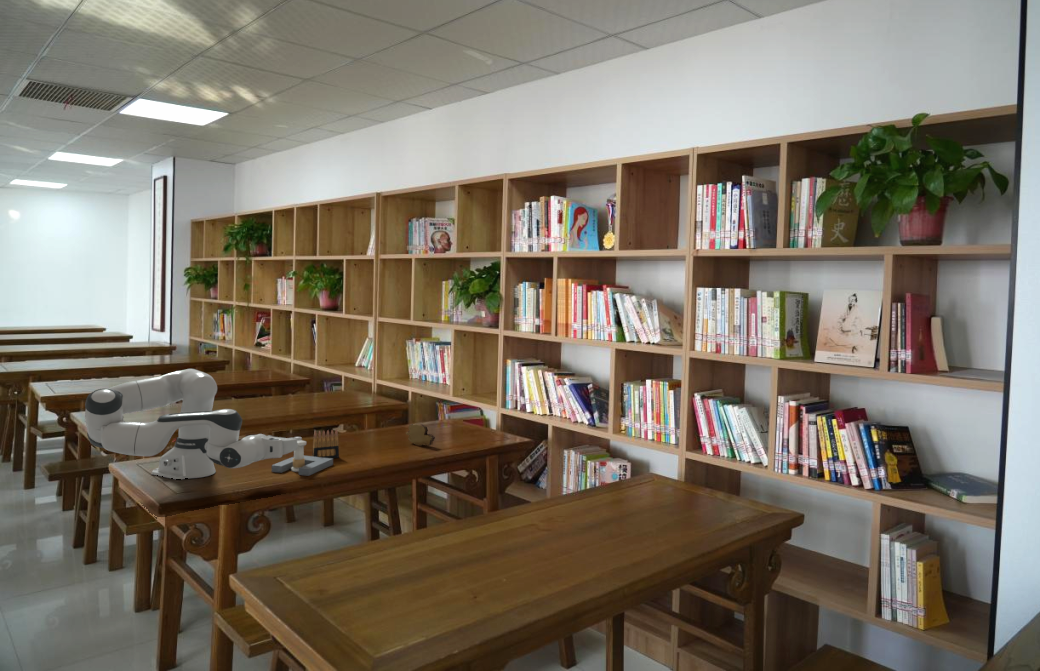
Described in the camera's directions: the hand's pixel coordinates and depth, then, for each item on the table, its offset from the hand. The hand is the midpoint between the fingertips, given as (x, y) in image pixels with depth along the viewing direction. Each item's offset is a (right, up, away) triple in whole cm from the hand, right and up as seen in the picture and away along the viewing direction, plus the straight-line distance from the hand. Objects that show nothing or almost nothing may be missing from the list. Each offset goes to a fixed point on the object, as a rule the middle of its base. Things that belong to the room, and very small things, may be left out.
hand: (282, 438), depth 264 cm
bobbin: (+2, -14, +14) cm, 20 cm away
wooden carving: (+42, -12, +63) cm, 77 cm away
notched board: (+3, -14, +17) cm, 22 cm away
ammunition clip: (+7, -13, +33) cm, 36 cm away
